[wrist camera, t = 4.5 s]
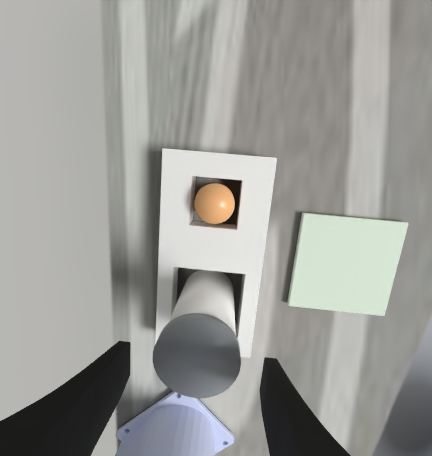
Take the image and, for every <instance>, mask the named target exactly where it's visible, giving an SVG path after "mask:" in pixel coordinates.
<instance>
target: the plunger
mask: <svg viewBox="0 0 432 456" xmlns="http://www.w3.org/2000/svg"><path fill="white" fill-rule="evenodd" d="M194 206H195V210H196V213H197V214H198V216H199V217H200V218H201V219H202V220H203V221H205V222H207V223H210V224H219V223H222V222H224V221H226V220H227V219H228V218H229V217H230V216H231V215H232V213H233V211H234V207H235V201H234V197H233V194H232V192H231V191H230V189H229V188H228V187H226V186H225V185H223V184H219V183H213V184H208V185H206V186H204V187H202V188H201V189H200V190H199V191H198V193H197V194H196V197H195V201H194Z"/></svg>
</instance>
